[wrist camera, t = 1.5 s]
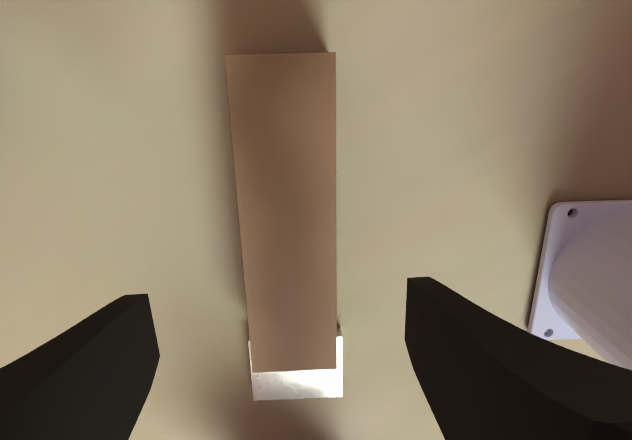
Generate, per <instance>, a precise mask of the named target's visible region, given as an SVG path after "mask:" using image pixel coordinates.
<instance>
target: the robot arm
mask: <svg viewBox="0 0 632 440" xmlns="http://www.w3.org/2000/svg"><path fill="white" fill-rule="evenodd" d="M570 209H573V212H572V214H570V215H568V211H569V210H570ZM547 329H549V331H547V332H546V333H544V332H545V331H546V330H547ZM561 339H583V340H584V341H585V342H586V343H587V344H588V345H589V346H590V347H591V348H593V349H594V350H595V351H596V352H597V353H598V354H599V355H600V356H601V357H602V358H603V359H604V360H605V361H606V362H603V361H600V360H598V359H595V358H592V357H589V356H586V355H583V354H580V353H578V352H575V351H572V350H569V349H567V348H564V347H562V346H559V345H556V344H554V343H552V342H549V341H547V340H561ZM405 342H406V346H407V349H408V353H409V356H410V359H411V363H412V366H413V369H414V372H415V374H416V376H417V379H418V381H419V383H420V385H421V388H422V390H423V392H424V394H425V397H426V399H427V401H428V403H429V405H430V407H431V410H432V412H433V414H434V416H435V418H436V421H437V423H438V425H439V427H440V429H441V431H442V434H443V436H444V438H445V440H632V200H606V201H576V202H558V203H556V204H554V205H553V206H552V207H551V208H550V211H549V215H548V220H547V226H546V231H545V237H544V243H543V248H542V254H541V259H540V265H539V270H538V276H537V281H536V287H535V292H534V298H533V304H532V309H531V315H530V320H529V326H528V332H527V331H525V330H522V329H520V328H518V327H516V326H514V325H512V324H511V323H509V322H507V321H505V320H503V319H501V318H499V317H497V316H495V315H493V314H492V313H490V312H488V311H486V310H485V309H483V308H481V307H479V306H478V305H476V304H474V303H473V302H471V301H469V300H468V299H466V298H464V297H463V296H461V295H459V294H458V293H456V292H455V291H453V290H451V289H450V288H448V287H446V286H445V285H443V284H441V283H440V282H438V281H436V280H435V279H433V278H431V277H416V278H407V299H406V321H405ZM159 358H160V353H159V348H158V343H157V338H156V333H155V328H154V323H153V318H152V313H151V308H150V303H149V298H148V294H135V295H124V296H122V297H120V298H118V299H116V300H115V301H113V302H111V303H109V304H108V305H106V306H105V307H103V308H101V309H100V310H98V311H97V312H95V313H93V314H92V315H90V316H89V317H87V318H86V319H84V320H82V321H81V322H79V323H78V324H76V325H74V326H73V327H71V328H70V329H68V330H67V331H65V332H63V333H62V334H60V335H58V336H57V337H55V338H53V339H52V340H50V341H48V342H47V343H45V344H43V345H41V346H40V347H38V348H36V349H35V350H33V351H31V352H30V353H28V354H26V355H24V356H23V357H21V358H19V359H17V360H15V361H14V362H12V363H10V364H8V365H6V366H4V367H2V368H0V440H128V439H129V437H130V434H131V432H132V430H133V428H134V426H135V423H136V421H137V419H138V417H139V414H140V412H141V410H142V408H143V405H144V403H145V401H146V399H147V396H148V394H149V391H150V389H151V386H152V383H153V379H154V376H155V372H156V369H157V365H158V361H159Z"/></svg>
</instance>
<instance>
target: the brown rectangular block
mask: <svg viewBox="0 0 632 440" xmlns="http://www.w3.org/2000/svg"><path fill="white" fill-rule="evenodd" d="M224 56H225V67H226V79H227V90H228V101H229V112H230V124H231V135H232V146H233V157H234V169H235V180H236V191H237V202H238V214H239V225H240V236H241V247H242V259H243V270H244V281H245V293H246V304H247V315H248V326H249V338H248V346H249V357H250V368H251V379H252V390H253V401H260V400H281V399H303V398H324V397H342V333H341V327H337V272H336V52H324V53H275V54H226V55H224Z"/></svg>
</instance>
